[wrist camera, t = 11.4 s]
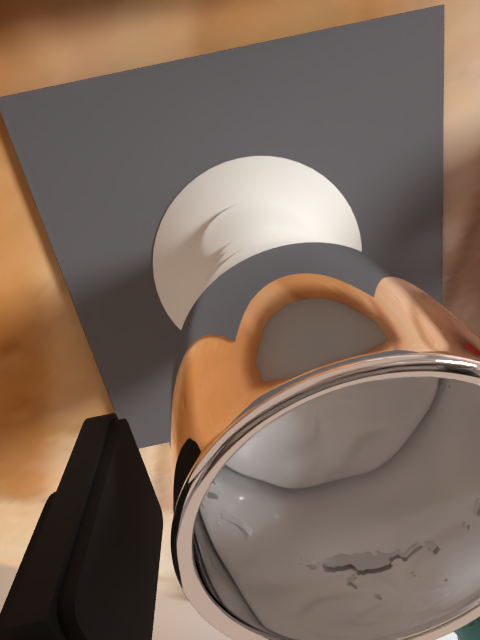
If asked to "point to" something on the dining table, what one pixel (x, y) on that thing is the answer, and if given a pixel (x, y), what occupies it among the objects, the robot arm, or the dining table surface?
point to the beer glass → (321, 441)
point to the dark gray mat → (231, 176)
